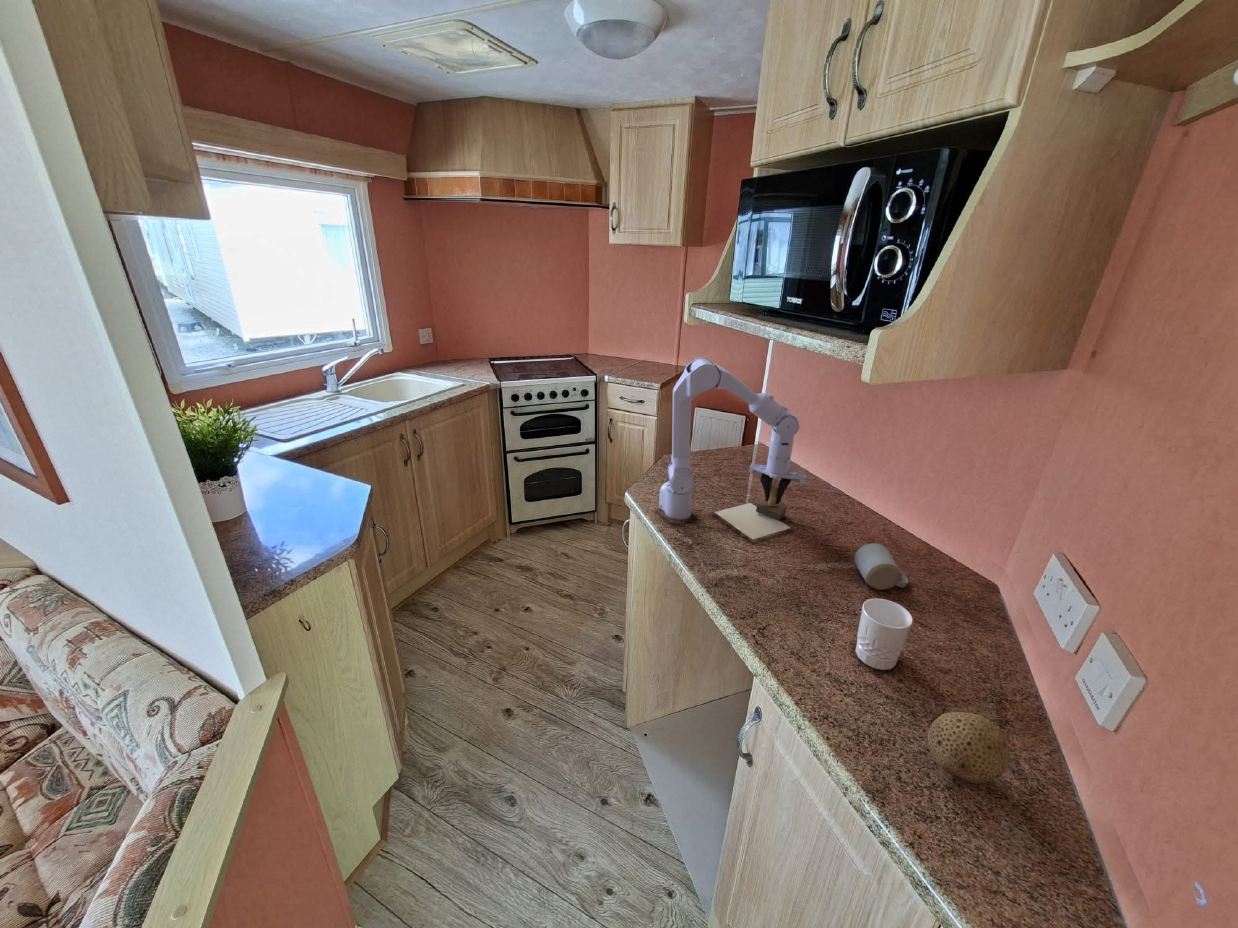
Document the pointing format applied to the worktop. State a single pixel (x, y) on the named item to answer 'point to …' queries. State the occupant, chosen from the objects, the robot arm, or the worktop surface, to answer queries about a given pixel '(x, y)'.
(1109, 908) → the worktop surface
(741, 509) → the tile
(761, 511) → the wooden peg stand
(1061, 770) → the worktop surface
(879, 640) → the white cup
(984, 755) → the natural sponge
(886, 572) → the ceramic mug
